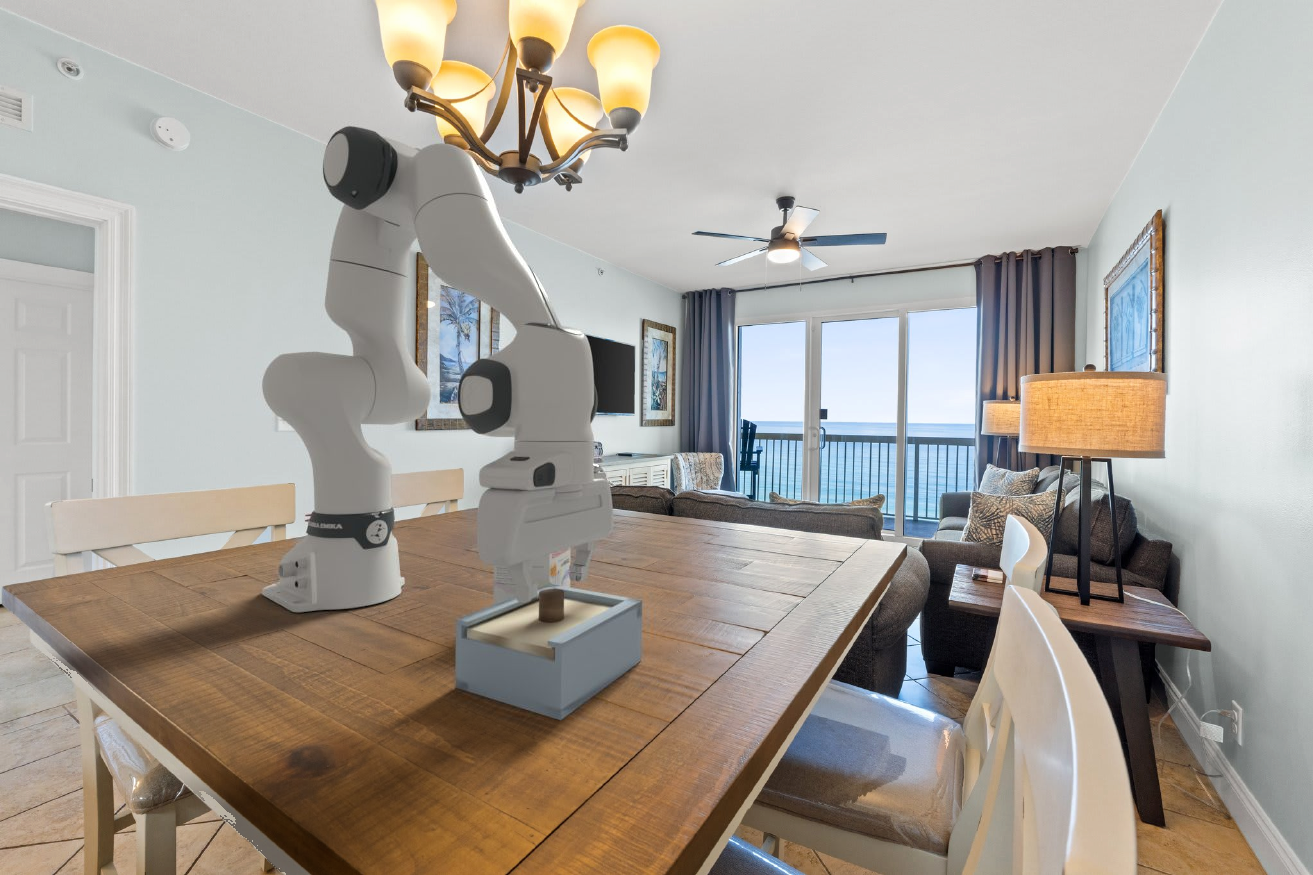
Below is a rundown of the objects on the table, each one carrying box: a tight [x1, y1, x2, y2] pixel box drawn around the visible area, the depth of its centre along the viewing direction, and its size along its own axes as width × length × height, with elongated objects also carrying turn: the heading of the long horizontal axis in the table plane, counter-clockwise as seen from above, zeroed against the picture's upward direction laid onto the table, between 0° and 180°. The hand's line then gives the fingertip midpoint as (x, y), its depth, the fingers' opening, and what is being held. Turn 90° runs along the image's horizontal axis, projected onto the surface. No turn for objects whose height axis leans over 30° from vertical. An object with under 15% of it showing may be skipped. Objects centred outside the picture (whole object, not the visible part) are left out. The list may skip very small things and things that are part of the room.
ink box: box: [493, 547, 572, 605], centre depth 81 cm, size 9×8×13 cm
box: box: [454, 584, 643, 721], centre depth 65 cm, size 14×16×7 cm
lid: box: [467, 589, 612, 659], centre depth 64 cm, size 12×14×4 cm
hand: (554, 589), depth 64 cm, fingers open, 8 cm apart
